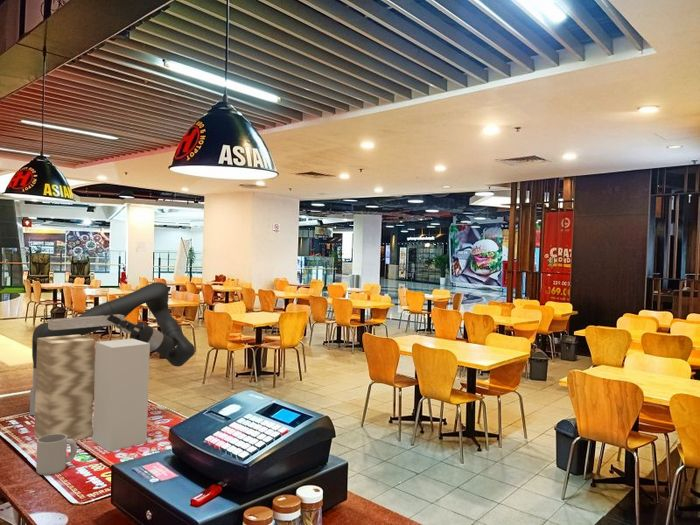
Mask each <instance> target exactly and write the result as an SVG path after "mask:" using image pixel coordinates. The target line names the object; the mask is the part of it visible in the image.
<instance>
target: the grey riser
mask: <svg viewBox="0 0 700 525" xmlns="http://www.w3.org/2000/svg"><path fill="white" fill-rule="evenodd" d="M95 345H96V356H95V387H94V398H93V417H92V443H95V444H96V445H98V446H99V447H101V448H103V449H104V450H105V451H107V452H108V453H109V452H113V451H118V450H121V449H126V448H130V447H133V446H137V445H140V444H144V443H147V438H148V437H147V436H148V435H147V434H148V411H149V410H148V409H149V382H150V377H149V376H150V353H151V352H150V351H151V349H150V344H149V343H146V342H143V341H139V340H136V339H130V338H125V339H123V338H122V339H115V340H106V341H105V340H104V341H103V340H101V341H95Z"/></svg>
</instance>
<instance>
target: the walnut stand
mask: <svg viewBox="0 0 700 525" xmlns="http://www.w3.org/2000/svg"><path fill="white" fill-rule="evenodd" d="M95 345H96V340H95V339H94V338H91V337H88V336H85V335H79V334H78V335H66V336H54V337H43V338H37V361H36V394H35V415H34V429H33V430H34V431H33V432H34V435H33V436H35V437H36V438H37V437H38V438H40V437H42V436H45V435H50V434H64V435H66V436H67V439H73V440H74V441H76V440H75V439H78V440H83V439H86V437H87V438H91V437H93V416H94V398H93V384H94V353H95ZM38 438H37V439H38Z"/></svg>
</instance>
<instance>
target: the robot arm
mask: <svg viewBox="0 0 700 525" xmlns="http://www.w3.org/2000/svg"><path fill="white" fill-rule="evenodd" d="M169 291H170V290H169V286H168V285H167V284H166V283H164V282H161V281H159V282H157V281H156V282H151V283H149V284H147V285H145V286H142V287H141V288H138V289H136V290H135V291H132V292H130V293H128V294H125V295H122V296H120V297H117V298H114V299H111V300H109V301H106V302H103V303H101V304H98V305H95V306H93V307H91V308H89V309H88V310H86V311H85V312H83V313H81V314H79V315H78V316H77V317H90V316H103V315H110V316H109V318H108V321H110V322H112V323H114V324H118V325H113V327H116V329H119V330H120V331H122V332H123V333H126V334H128V335H129V339H136V340H139V341H143V342H146V343H149V344H150V351H153V352H155V353H157V354H159V355H160V356H162V357H163V358H165V359H166V361H167V362H168V363H169V364H170V365H172V366H173V367H182V366H183V365H185V363H187V362H188V361H189V360H190V359H191V358H192V357H193V356H194V355H195V352H196V348H195V345H193V344H192V342H191V341H190V340H189V339H188V338H187V337H186V336H185V334H184V333H183V331H182V329H181V326H180V324H179V322H178V321H177V319H175V318H174V317H173V316H172V314H171V312H170V307H169V298H170V297H169ZM144 304H145V305H146V307H147V308H148V309H149V311H150V313H151V314H152V315H153V317H154V318H155V321H156V322H157V324H158V325H159V328H160V330H158V329H157V328H155V327H152V326H150V325H149V324H146V323H145V322H142V321H141V322H138V323H137V324H136V323H134V322H131V321H130V320H126V319H125V318H127V317H128V316H129V314H131V313H132V312H133V311H134V310H135V309H137V308H138V307H140V306H142V305H144ZM117 314H120V315H124V320H123V319H121V320H120V318H118V317H116V316H114V315H117ZM110 326H111V325H108V326H97V327H85V328H74V329H62V330H50V329H48V322H43V323H40V324H39V325H37V326H36V327H35V328H34V330H33V332H32V338H31V340H32V341H31V349H32V350H31V355H32V356H31V357H32V367H33V368H32V370H33V371H32V388H31V389H30V392H29V393H30V394H29V416H35V394H36V361H37V338H43V337H54V336H66V335H78V334H79V335H82V336H85V335H87V334H91V333H94V332H97V331H99V330H103V329H105V328H107V327H110Z"/></svg>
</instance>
